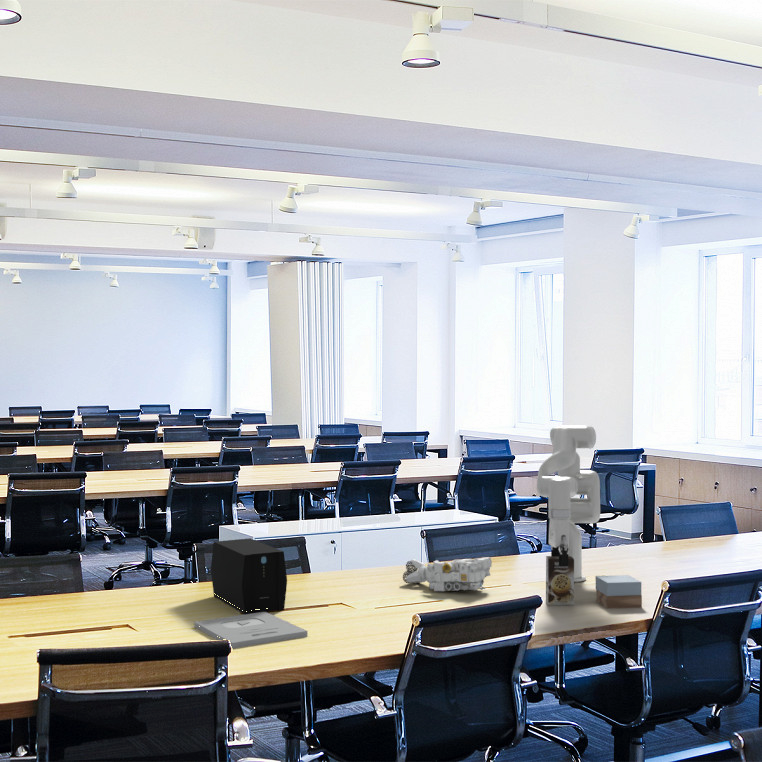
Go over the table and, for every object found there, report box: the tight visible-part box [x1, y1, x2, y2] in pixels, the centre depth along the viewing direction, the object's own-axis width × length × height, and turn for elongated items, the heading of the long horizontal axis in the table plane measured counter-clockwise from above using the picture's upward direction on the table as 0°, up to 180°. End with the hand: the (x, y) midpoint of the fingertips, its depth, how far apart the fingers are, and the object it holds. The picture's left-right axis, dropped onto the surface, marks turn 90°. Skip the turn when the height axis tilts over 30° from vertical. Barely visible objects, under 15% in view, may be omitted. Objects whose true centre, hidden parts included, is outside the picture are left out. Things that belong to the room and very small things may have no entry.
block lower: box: [595, 588, 643, 609], centre depth 339 cm, size 12×12×4 cm
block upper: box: [595, 574, 642, 596], centre depth 340 cm, size 12×12×4 cm
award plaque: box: [194, 612, 309, 649], centre depth 305 cm, size 25×30×2 cm
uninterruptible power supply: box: [210, 538, 288, 615], centre depth 345 cm, size 16×34×20 cm, turn 28°
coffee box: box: [545, 555, 575, 606], centre depth 341 cm, size 9×6×16 cm
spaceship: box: [402, 556, 493, 592], centre depth 365 cm, size 16×35×12 cm, turn 59°
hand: (559, 563), depth 340 cm, fingers open, 9 cm apart
